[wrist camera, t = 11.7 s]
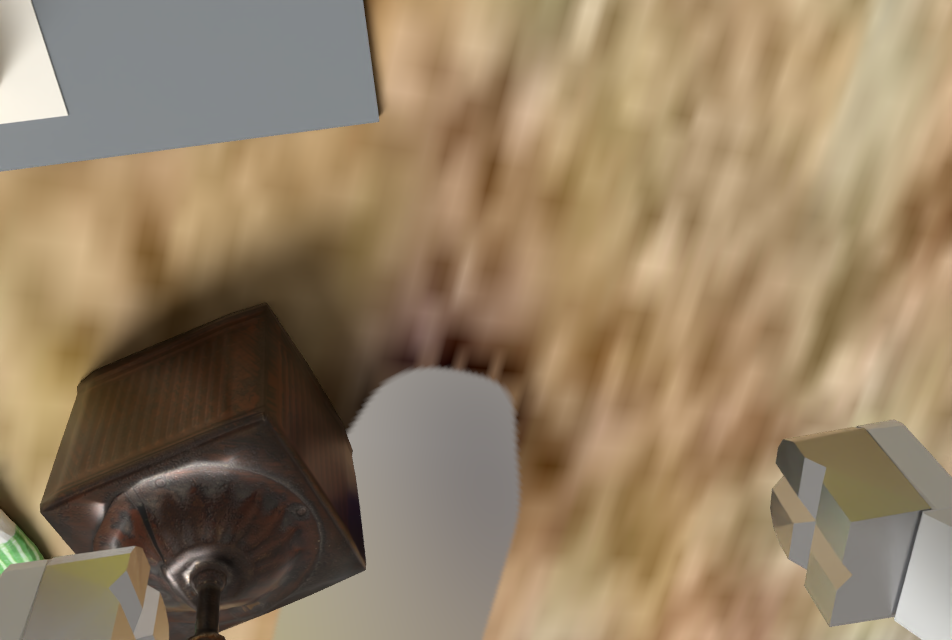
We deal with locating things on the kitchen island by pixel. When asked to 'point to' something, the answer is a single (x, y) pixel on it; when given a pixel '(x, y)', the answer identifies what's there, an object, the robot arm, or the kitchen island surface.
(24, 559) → the dish towel
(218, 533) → the manual coffee grinder
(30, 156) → the mat
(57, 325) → the kitchen island surface
